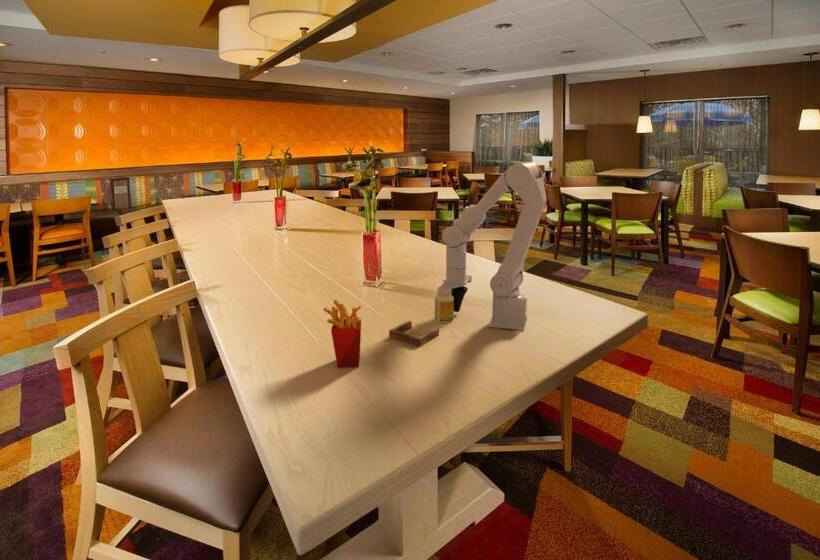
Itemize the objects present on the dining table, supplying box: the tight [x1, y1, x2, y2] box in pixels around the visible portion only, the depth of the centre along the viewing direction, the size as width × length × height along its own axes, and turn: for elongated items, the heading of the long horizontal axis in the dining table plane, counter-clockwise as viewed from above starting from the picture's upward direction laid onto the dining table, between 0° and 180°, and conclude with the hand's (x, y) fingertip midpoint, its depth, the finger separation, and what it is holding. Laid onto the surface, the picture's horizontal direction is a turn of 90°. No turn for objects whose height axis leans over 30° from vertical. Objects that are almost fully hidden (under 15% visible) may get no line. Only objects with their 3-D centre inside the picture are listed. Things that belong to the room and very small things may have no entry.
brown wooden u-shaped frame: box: [388, 320, 440, 347], centre depth 126 cm, size 8×10×2 cm
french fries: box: [323, 299, 362, 369], centre depth 110 cm, size 9×8×15 cm
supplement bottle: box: [434, 287, 455, 324], centre depth 136 cm, size 5×5×10 cm
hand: (455, 311), depth 142 cm, fingers closed
